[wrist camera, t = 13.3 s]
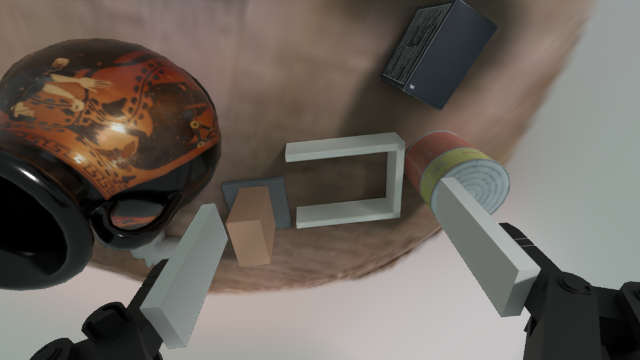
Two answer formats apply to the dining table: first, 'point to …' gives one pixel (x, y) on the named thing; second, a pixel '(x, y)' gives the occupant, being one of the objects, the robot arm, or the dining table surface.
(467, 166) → the canned food
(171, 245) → the bunny figurine
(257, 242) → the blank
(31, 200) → the amphora vase
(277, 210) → the slate mat
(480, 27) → the small box
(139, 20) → the dining table surface
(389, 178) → the slot rack
